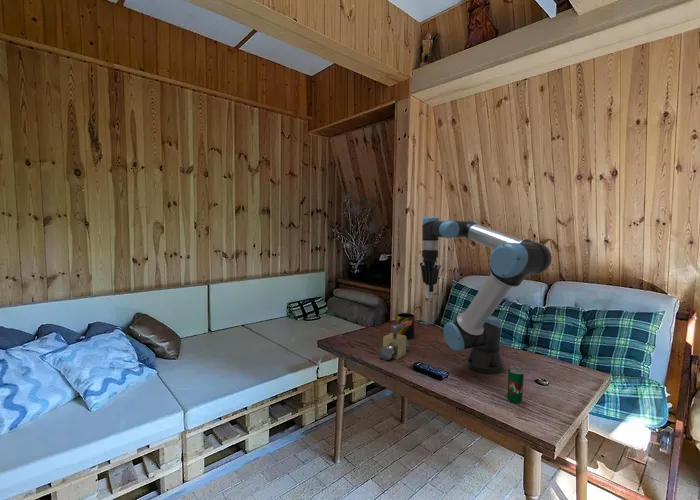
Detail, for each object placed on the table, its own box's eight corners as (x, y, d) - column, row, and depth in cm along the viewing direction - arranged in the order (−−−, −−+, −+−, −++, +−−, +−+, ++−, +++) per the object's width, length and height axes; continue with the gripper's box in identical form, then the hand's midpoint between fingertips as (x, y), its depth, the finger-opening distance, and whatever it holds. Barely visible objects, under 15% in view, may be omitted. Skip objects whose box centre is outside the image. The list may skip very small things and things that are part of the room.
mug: (400, 330, 200) (400, 310, 199) (417, 337, 189) (418, 316, 187) (388, 333, 194) (388, 313, 193) (405, 340, 183) (405, 319, 182)
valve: (396, 347, 174) (396, 330, 173) (410, 351, 169) (410, 333, 168) (377, 357, 160) (378, 339, 159) (392, 362, 155) (392, 343, 154)
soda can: (517, 396, 126) (519, 365, 125) (525, 404, 121) (527, 371, 120) (504, 396, 126) (505, 365, 125) (511, 404, 121) (512, 371, 120)
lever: (395, 337, 161) (395, 327, 161) (389, 335, 164) (389, 326, 163) (412, 330, 171) (412, 321, 170) (406, 329, 173) (406, 320, 173)
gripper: (415, 248, 167) (414, 296, 169) (432, 250, 155) (431, 301, 157) (427, 248, 170) (427, 295, 172) (445, 249, 159) (444, 300, 160)
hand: (429, 298), depth 165 cm, fingers closed
